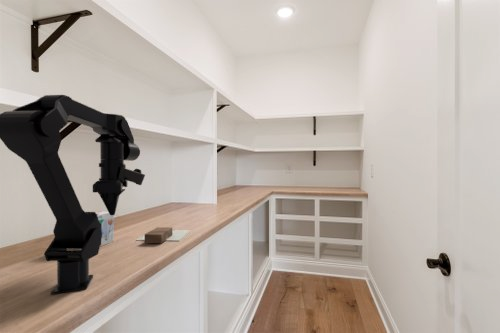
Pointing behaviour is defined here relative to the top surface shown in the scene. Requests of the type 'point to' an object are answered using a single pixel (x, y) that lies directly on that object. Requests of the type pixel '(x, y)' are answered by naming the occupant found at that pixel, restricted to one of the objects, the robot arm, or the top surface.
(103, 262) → the top surface
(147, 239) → the walnut block
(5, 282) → the top surface
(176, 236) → the mat
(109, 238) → the light bulb box
